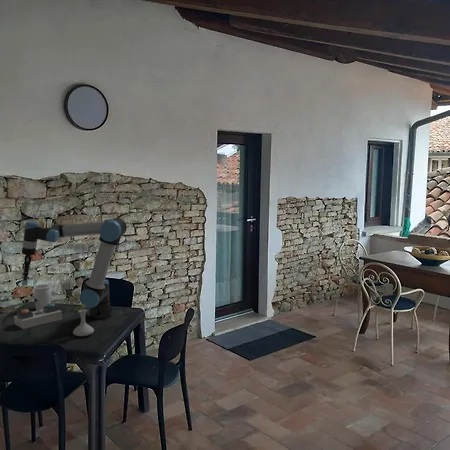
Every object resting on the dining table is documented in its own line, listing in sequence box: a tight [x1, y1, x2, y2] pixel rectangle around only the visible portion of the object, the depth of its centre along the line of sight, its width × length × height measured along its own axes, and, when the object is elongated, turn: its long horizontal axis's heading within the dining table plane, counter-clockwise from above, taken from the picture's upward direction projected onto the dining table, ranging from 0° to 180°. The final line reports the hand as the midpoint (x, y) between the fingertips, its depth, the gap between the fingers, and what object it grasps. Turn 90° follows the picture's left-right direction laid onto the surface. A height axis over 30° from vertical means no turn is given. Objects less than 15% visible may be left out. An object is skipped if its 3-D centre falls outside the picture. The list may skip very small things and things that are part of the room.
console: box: [13, 304, 63, 330], centre depth 285 cm, size 12×24×8 cm, turn 136°
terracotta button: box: [20, 308, 30, 315], centre depth 279 cm, size 4×4×2 cm
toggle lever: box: [33, 298, 39, 312], centre depth 285 cm, size 2×2×8 cm
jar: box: [33, 284, 52, 310], centre depth 310 cm, size 11×10×15 cm
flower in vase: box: [68, 292, 95, 337], centre depth 262 cm, size 13×11×25 cm
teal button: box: [47, 302, 55, 309], centre depth 290 cm, size 4×4×2 cm
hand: (24, 281), depth 283 cm, fingers open, 13 cm apart
